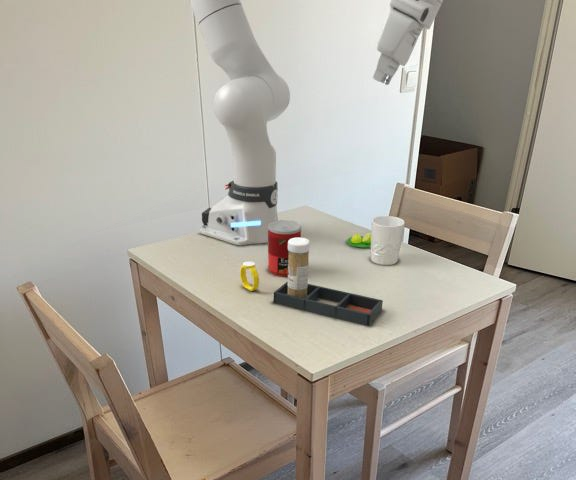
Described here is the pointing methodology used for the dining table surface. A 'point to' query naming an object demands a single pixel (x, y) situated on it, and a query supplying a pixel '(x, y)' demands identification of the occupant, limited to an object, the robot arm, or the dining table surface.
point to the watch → (254, 273)
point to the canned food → (280, 245)
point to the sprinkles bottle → (298, 266)
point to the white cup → (386, 239)
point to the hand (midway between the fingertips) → (380, 82)
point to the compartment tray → (339, 311)
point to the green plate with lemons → (360, 241)
